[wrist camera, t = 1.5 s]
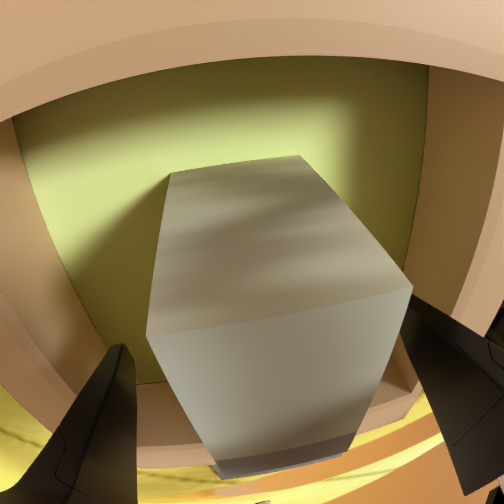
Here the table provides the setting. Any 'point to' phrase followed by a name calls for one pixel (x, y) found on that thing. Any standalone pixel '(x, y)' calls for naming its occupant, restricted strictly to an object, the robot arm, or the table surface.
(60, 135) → the table surface
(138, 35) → the light brown square frame
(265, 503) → the tall pale column
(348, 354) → the box
